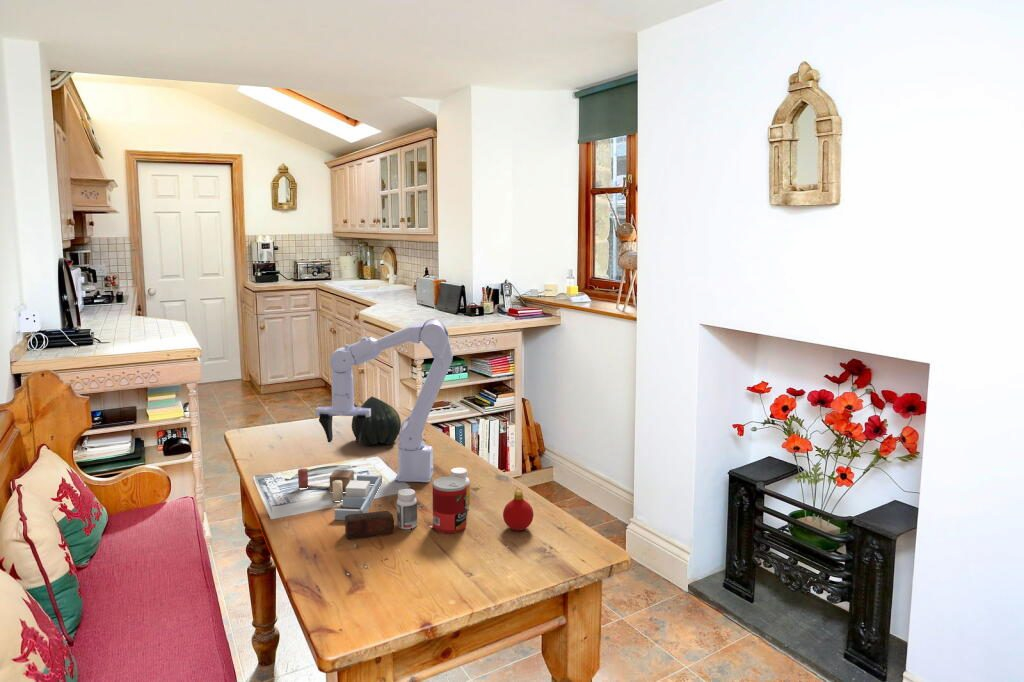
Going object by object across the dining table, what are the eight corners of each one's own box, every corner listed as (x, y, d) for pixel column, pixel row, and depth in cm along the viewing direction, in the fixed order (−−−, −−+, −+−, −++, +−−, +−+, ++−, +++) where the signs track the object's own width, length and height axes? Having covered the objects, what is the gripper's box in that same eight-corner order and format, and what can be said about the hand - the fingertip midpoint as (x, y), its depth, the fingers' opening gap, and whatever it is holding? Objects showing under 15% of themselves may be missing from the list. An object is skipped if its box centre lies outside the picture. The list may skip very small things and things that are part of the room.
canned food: (461, 535, 163) (462, 490, 161) (428, 532, 165) (428, 487, 163) (470, 521, 171) (470, 477, 169) (438, 518, 172) (438, 474, 170)
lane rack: (382, 484, 192) (381, 475, 191) (362, 520, 170) (362, 510, 170) (357, 483, 192) (357, 475, 192) (334, 519, 170) (334, 510, 170)
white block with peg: (370, 497, 183) (369, 479, 183) (365, 505, 179) (365, 486, 178) (335, 496, 184) (335, 477, 183) (330, 504, 179) (329, 485, 178)
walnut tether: (354, 486, 191) (353, 468, 190) (349, 493, 186) (348, 475, 185) (302, 484, 191) (301, 466, 190) (295, 491, 186) (295, 473, 185)
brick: (347, 541, 160) (347, 521, 159) (345, 533, 164) (344, 514, 163) (394, 534, 164) (394, 515, 163) (391, 527, 167) (391, 508, 166)
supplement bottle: (458, 513, 175) (458, 476, 173) (443, 507, 178) (443, 470, 177) (474, 507, 179) (474, 470, 177) (459, 501, 182) (459, 464, 181)
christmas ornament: (529, 521, 171) (530, 481, 170) (535, 534, 165) (536, 493, 163) (500, 523, 170) (501, 483, 168) (505, 536, 163) (506, 495, 161)
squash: (394, 436, 215) (398, 391, 222) (344, 437, 215) (350, 392, 223) (401, 453, 227) (404, 410, 235) (354, 454, 227) (359, 411, 235)
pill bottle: (420, 522, 170) (420, 489, 168) (411, 531, 165) (411, 497, 164) (402, 519, 171) (402, 486, 169) (393, 527, 167) (392, 494, 165)
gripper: (311, 396, 188) (313, 445, 191) (366, 397, 188) (367, 447, 190) (319, 389, 195) (320, 437, 197) (372, 390, 194) (373, 438, 197)
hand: (344, 441), depth 194 cm, fingers open, 7 cm apart
